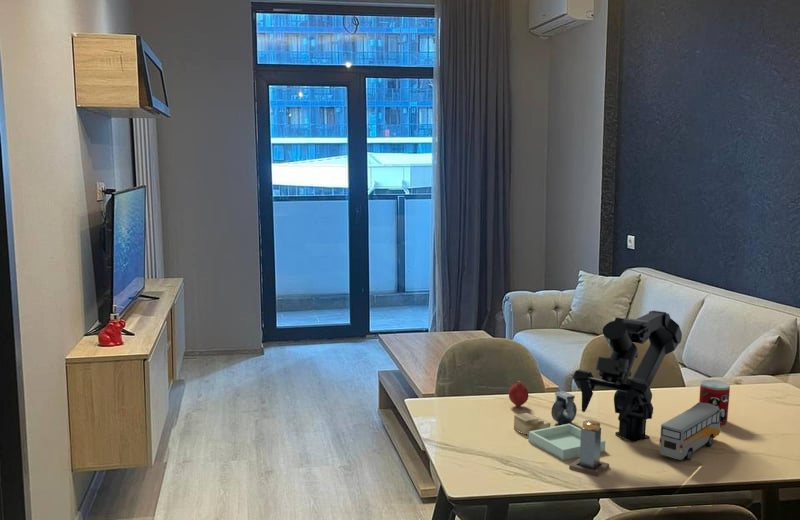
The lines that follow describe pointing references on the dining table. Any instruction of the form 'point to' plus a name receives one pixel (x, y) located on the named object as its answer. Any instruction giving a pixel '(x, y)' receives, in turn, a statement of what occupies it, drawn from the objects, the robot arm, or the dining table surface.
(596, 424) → the pin
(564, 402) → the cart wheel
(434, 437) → the dining table surface
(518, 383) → the onion
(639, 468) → the dining table surface
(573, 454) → the tray
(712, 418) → the toy bus
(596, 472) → the pin socket
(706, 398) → the canned food
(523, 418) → the block
